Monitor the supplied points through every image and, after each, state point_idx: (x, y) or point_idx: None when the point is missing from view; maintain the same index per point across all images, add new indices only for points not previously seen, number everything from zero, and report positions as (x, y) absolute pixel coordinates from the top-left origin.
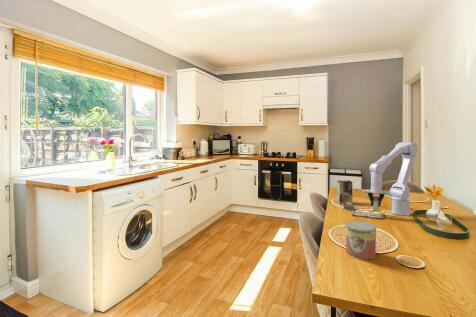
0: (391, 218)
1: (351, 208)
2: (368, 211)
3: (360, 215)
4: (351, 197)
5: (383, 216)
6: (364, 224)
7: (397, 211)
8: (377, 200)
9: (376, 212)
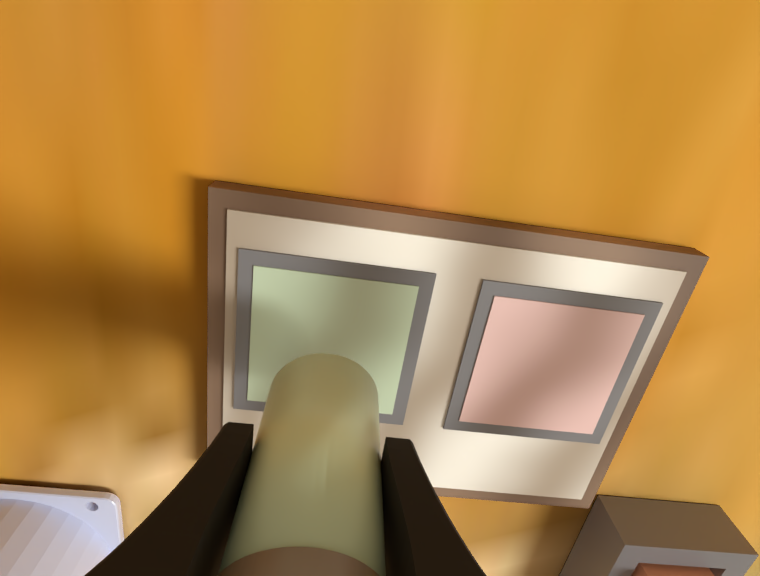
0: (96, 299)
1: (638, 522)
2: None
3: (582, 248)
4: None
5: (208, 303)
6: None
7: (10, 530)
8: (253, 563)
9: None
